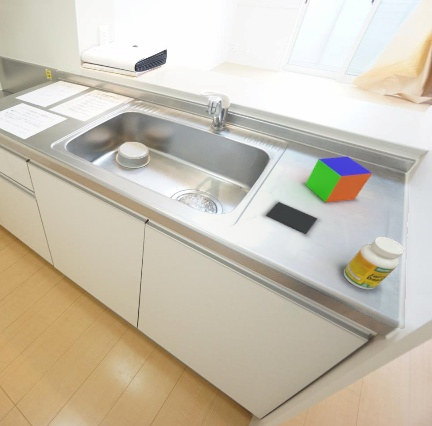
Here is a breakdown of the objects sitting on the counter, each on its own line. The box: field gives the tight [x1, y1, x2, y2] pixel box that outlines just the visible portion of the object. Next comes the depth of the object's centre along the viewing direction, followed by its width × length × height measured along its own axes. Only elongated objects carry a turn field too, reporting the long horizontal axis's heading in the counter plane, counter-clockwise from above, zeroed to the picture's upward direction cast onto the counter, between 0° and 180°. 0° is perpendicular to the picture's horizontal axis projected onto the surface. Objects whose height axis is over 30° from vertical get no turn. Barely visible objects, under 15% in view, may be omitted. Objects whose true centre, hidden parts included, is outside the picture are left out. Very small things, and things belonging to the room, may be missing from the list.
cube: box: [304, 156, 373, 203], centre depth 72 cm, size 8×8×8 cm
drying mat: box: [266, 201, 318, 235], centre depth 67 cm, size 9×7×1 cm
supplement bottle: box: [343, 236, 405, 290], centre depth 51 cm, size 5×5×10 cm
